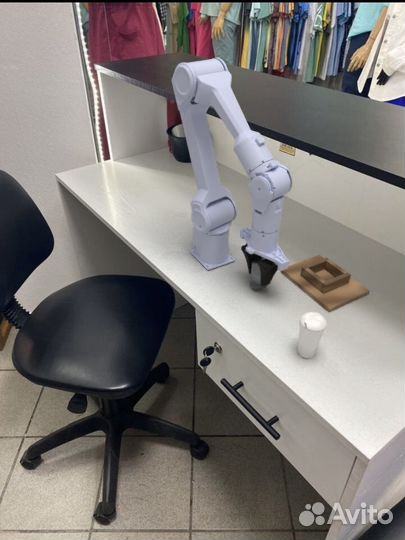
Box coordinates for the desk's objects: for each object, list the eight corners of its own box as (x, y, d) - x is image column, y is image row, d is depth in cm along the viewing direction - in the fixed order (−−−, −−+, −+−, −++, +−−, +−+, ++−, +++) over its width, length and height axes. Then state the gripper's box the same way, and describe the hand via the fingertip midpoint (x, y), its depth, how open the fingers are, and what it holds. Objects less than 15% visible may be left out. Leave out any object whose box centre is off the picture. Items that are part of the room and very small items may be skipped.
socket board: (280, 272, 93) (282, 260, 91) (318, 258, 98) (320, 246, 95) (328, 312, 82) (332, 299, 80) (368, 294, 87) (372, 281, 84)
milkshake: (286, 354, 73) (293, 315, 67) (302, 339, 76) (311, 301, 70) (307, 368, 70) (316, 329, 64) (322, 352, 73) (333, 313, 67)
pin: (246, 281, 88) (248, 260, 85) (260, 276, 90) (263, 254, 86) (256, 291, 86) (259, 269, 82) (271, 285, 87) (274, 264, 83)
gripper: (229, 215, 82) (226, 266, 90) (272, 249, 72) (264, 303, 80) (256, 207, 85) (251, 258, 93) (301, 239, 75) (291, 292, 83)
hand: (259, 278), depth 87 cm, fingers closed on pin, 4 cm apart
